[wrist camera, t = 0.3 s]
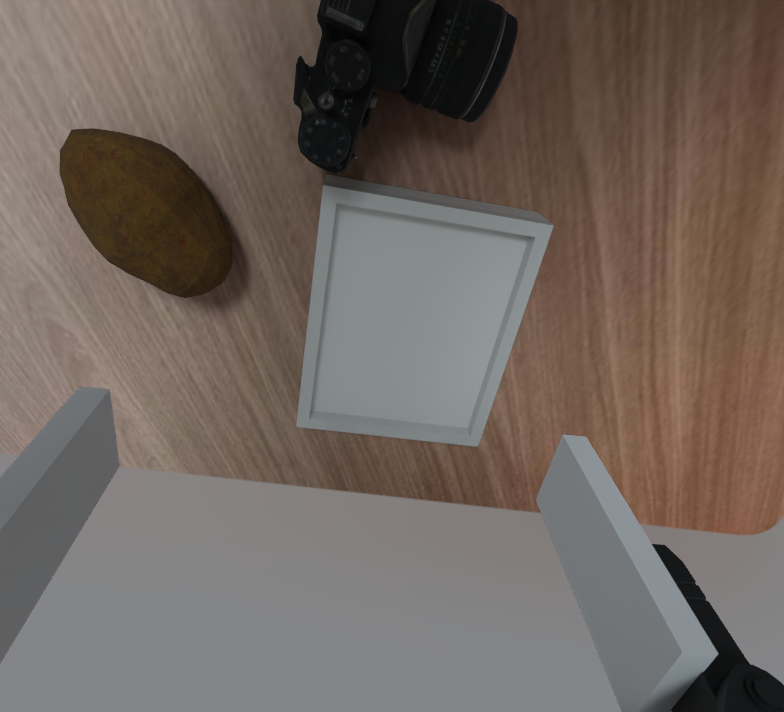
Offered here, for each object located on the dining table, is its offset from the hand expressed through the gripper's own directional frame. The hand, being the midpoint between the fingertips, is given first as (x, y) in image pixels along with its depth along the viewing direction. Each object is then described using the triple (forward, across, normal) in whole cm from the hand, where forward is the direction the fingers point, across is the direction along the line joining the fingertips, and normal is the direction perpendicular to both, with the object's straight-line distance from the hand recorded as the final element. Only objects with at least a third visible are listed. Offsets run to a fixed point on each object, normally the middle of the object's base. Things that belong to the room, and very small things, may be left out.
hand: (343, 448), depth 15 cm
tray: (+26, +6, -7) cm, 28 cm away
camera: (+26, +2, +11) cm, 29 cm away
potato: (+27, -13, -1) cm, 30 cm away
